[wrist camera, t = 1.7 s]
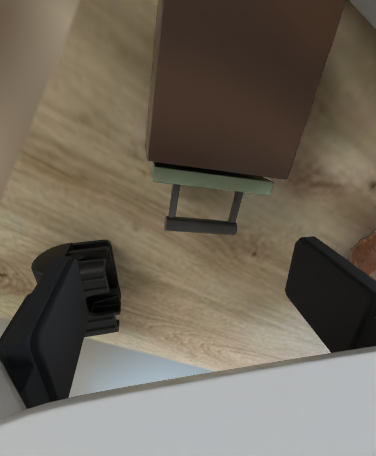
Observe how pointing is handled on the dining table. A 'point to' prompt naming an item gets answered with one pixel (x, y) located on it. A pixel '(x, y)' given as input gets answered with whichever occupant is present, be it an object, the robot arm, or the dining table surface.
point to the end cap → (91, 281)
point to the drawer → (206, 180)
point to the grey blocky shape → (366, 9)
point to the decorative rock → (365, 255)
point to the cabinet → (236, 81)
